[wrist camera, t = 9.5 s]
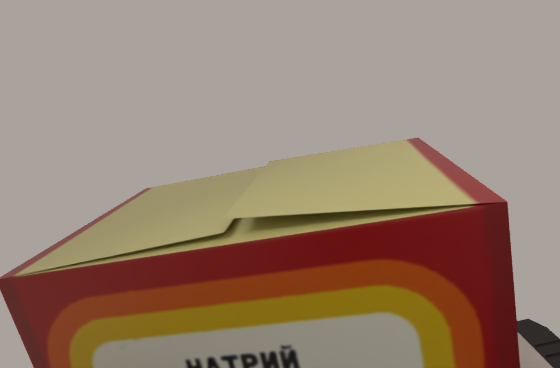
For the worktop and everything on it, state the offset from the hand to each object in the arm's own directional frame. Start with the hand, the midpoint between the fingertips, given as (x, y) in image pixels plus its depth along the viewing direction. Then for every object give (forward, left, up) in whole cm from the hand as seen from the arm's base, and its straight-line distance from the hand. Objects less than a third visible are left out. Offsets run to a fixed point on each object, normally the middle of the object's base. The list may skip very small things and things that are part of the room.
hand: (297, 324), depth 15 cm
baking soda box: (+4, 0, -9) cm, 10 cm away
